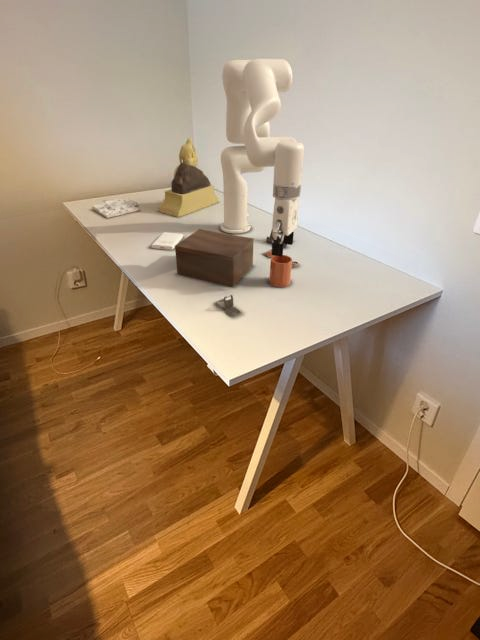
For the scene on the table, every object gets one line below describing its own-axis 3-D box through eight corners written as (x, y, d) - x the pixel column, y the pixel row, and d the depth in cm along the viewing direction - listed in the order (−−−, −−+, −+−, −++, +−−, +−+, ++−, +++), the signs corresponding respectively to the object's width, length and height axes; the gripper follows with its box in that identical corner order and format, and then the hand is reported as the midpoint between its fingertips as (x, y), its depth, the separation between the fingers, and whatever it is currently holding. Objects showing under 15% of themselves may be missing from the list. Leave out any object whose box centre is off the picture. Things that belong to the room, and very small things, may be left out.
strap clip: (215, 304, 110) (214, 291, 107) (224, 300, 111) (223, 288, 109) (232, 317, 104) (232, 303, 102) (241, 313, 106) (241, 300, 103)
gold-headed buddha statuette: (198, 197, 196) (195, 132, 179) (218, 202, 190) (216, 135, 173) (158, 211, 177) (150, 140, 160) (178, 217, 171) (172, 143, 154)
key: (262, 254, 139) (286, 270, 128) (262, 251, 139) (286, 267, 128) (276, 249, 141) (300, 265, 130) (276, 247, 141) (300, 263, 130)
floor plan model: (120, 197, 194) (119, 193, 193) (145, 209, 178) (144, 205, 177) (84, 204, 184) (83, 200, 183) (107, 218, 168) (106, 213, 167)
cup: (273, 276, 125) (274, 253, 120) (292, 279, 123) (294, 256, 118) (266, 284, 120) (267, 261, 115) (286, 289, 118) (288, 265, 113)
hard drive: (183, 237, 151) (172, 250, 141) (163, 236, 152) (151, 248, 142) (183, 233, 150) (172, 246, 140) (163, 232, 151) (151, 244, 141)
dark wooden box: (200, 255, 137) (199, 228, 131) (252, 266, 130) (253, 238, 125) (177, 274, 125) (174, 245, 119) (233, 287, 118) (233, 257, 113)
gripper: (290, 200, 97) (285, 262, 107) (308, 185, 111) (302, 241, 120) (262, 197, 100) (260, 258, 109) (283, 182, 113) (279, 238, 122)
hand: (282, 249), depth 115 cm, fingers open, 9 cm apart
